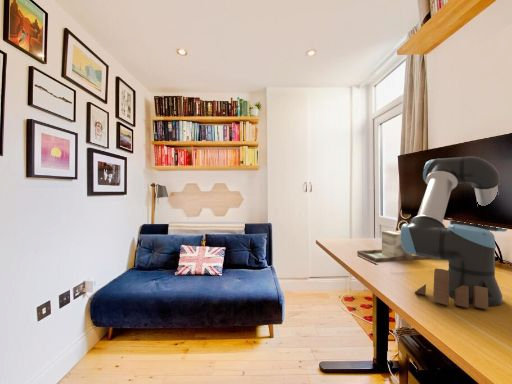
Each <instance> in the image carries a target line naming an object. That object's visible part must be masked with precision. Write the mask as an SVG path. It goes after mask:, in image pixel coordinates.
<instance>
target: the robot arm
mask: <svg viewBox="0 0 512 384" xmlns="http://www.w3.org/2000/svg"><path fill="white" fill-rule="evenodd" d="M422 179H423V182H425V184H426V185H427V186H426V190H425V192H424V195H423V198H422V200H421V202H420V203H421V204H420V206H419V209H418V212H417V215H416V216H414V217H412V218H411V219H410V221H409V223H403V224H402V225H401V228H400V231H401V244H402V247H403V249H404V251H405V252H406V253H409V254H412V255H414V256H417V255H419V256H425V257H430V258H429V259H437V260H442V261H447V262H448V270H447V271H449V272H450V273H449V297H451V298H453V299H454V297H455V289H456V288H458V287H460V286H462V285H463V286H468V287H469V304H473V286H480V287H485V288H488V307H489V306H490V307H494V306H495V307H496V306H501V305H502V304H503V293H502V291H501V289H500V286H499V284H498V281H497V278H496V275H495V274H496V255H495V254H496V253H495V251H496V248H497V245H496V241H495V240H496V239H495V235H494V233H493V232H502V233H503V232H505V233H506V232H507V231H508V228H507V229H502V228H496V227H490V226H482V225H478V224H470V223H468V224H467V223H464V222H457V221H451V220H450V219H449V222H450V223H449V225H448V226H447V227H446V226H445V224H444V223H443V222H444V219H445V214H446V210H447V207H448V203H449V201H450V197H451V192H452V191H453V190H454V189H455V188H456V187H457V186H458V184H470V185H471V187H472V188H474V193H475V197H476V203H477V202H478V204H479V205H481V206H486V205H488V204H490V203H491V202H492V201H493V200H494V199H495V197H496V195H497V192H498V193H499V189H498V188H499V187H498V186H499V185H500V184H501V176H500V173H499V171H498V170H497V168H496V167H495V166H494V165H493V164H492V163H490V162H489V161H487V160H485V159H483V158H481V157H479V156H472V155H471V156H469V155H468V156H459V157H447V158H446V157H445V158H444V157H443V158H435V159H430V160H428V161H426V162H425V165H424V167H423V171H422ZM493 187H494V188H493ZM478 204H477V205H478Z"/></svg>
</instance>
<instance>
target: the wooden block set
mask: <svg viewBox="0 0 512 384" xmlns="http://www.w3.org/2000/svg"><path fill="white" fill-rule="evenodd" d="M433 273H434V274H433V296H432V298H433V299H432V302H433V303H436V304H440V305H443V306H449V305H450V296H449V273H450V272H449V271H448V270H447V269H443V268H434V272H433ZM426 289H427V284H426V283H425V284H424V285H422V286H421V287H420V288H418V289H417V290H415V291H414V293H415V294H418V295H422V296H426V293H427V292H426V291H427V290H426ZM453 299H454V306H456V307H461V308H465V309H468V308H469V307H470V303H469V287H468V286H463V285H462V286H460V287H458V288H456V289H455V297H454V298H453ZM472 306H473V307H474V308H477V309H481V310H485V311H486V310H489V306H488V288H485V287H480V286H473V303H472Z"/></svg>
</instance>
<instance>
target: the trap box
mask: <svg viewBox="0 0 512 384" xmlns="http://www.w3.org/2000/svg"><path fill="white" fill-rule="evenodd" d="M356 252H357V257H359V259H360V258H361V259H363V260H365V261H367V262H368V263H371V264H373V265H375V266H377V265H378V266H379V264H378V263H379V262H380V263H381V262H394V261H410V260H412V261H413V260H424V259H425V260H427V259H431V258H430V257H425V256H419V255H417V256H416V255H413V254H412V256H400V257H389V256H386V255H384V254H382V248H380V249H363V250H357V251H356ZM373 261H374V262H373Z"/></svg>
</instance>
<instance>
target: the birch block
mask: <svg viewBox="0 0 512 384" xmlns="http://www.w3.org/2000/svg"><path fill="white" fill-rule="evenodd" d="M381 249H382V254H384V255H386V256H389V257H400V256H412V255H413V254H409V253H406V252H405V251H404V249H403V247H402V244H401V230H382V231H381Z"/></svg>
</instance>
